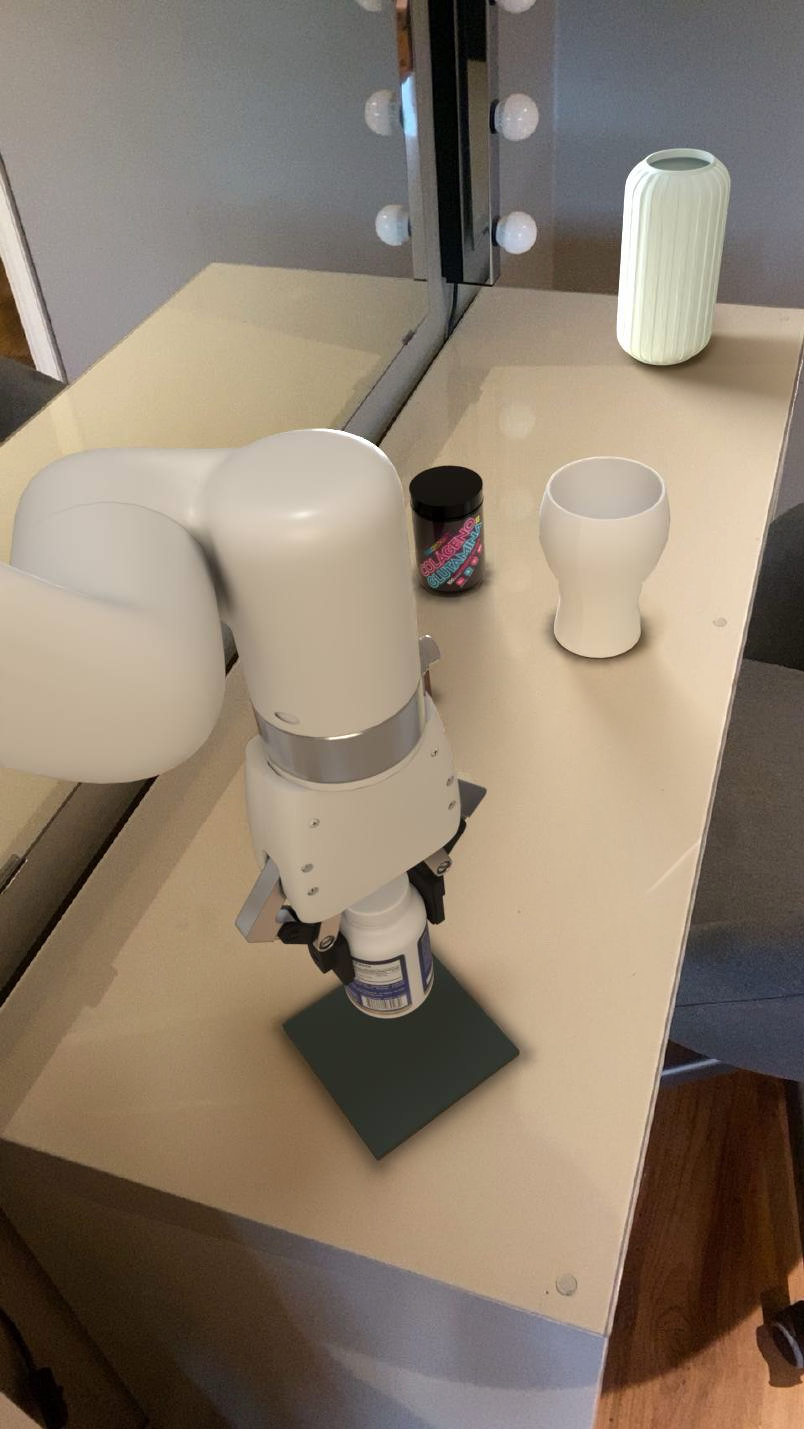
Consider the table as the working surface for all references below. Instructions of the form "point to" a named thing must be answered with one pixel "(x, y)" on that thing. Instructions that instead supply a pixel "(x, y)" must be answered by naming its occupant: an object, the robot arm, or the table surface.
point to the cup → (602, 549)
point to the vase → (671, 254)
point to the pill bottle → (389, 950)
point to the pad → (400, 1058)
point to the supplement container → (448, 529)
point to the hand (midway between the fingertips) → (380, 934)
